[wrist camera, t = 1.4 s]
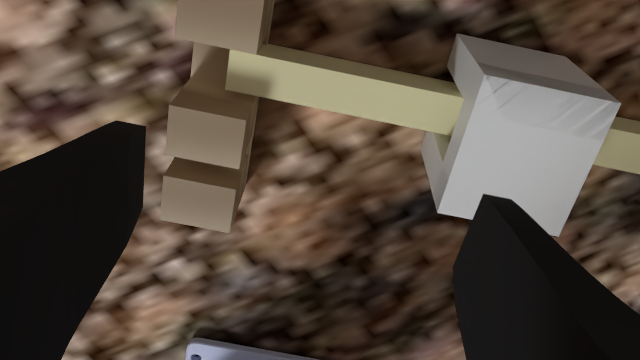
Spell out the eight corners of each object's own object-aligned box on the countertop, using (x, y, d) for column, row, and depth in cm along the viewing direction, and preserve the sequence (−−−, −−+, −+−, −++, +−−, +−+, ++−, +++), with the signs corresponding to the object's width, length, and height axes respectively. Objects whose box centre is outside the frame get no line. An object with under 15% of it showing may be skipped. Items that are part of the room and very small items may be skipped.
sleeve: (519, 169, 23) (558, 236, 19) (420, 149, 23) (437, 212, 18) (565, 56, 21) (621, 103, 16) (456, 33, 20) (484, 74, 16)
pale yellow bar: (814, 188, 23) (860, 219, 21) (236, 69, 22) (224, 89, 20) (836, 157, 22) (885, 185, 20) (241, 32, 21) (229, 49, 19)
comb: (245, 185, 24) (229, 233, 21) (185, 173, 24) (159, 219, 21) (291, -107, 19) (279, -104, 16) (215, -124, 19) (187, -124, 16)
